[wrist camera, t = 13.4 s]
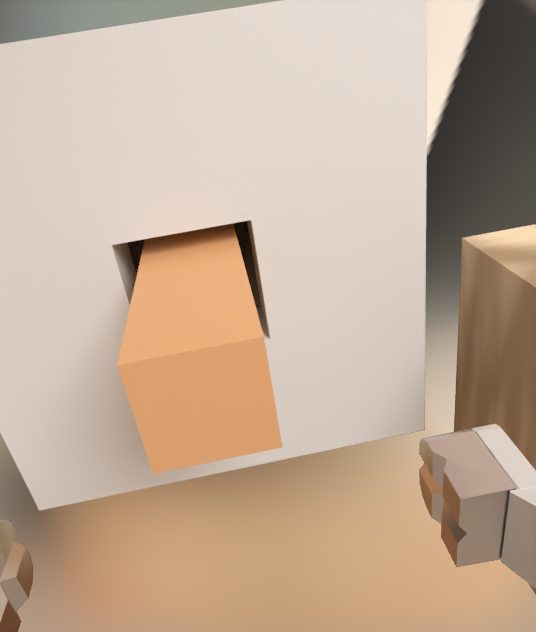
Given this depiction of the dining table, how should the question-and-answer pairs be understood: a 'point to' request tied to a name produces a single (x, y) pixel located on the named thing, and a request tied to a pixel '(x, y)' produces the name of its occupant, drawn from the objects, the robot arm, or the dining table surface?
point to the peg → (197, 353)
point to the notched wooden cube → (498, 336)
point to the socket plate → (214, 222)
